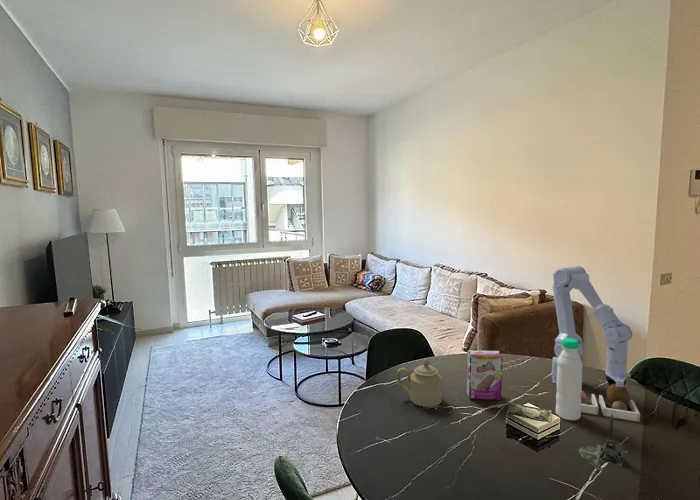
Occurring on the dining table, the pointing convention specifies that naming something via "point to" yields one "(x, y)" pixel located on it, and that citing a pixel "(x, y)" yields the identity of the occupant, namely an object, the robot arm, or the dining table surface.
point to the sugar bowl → (423, 385)
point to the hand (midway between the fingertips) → (614, 398)
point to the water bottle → (569, 381)
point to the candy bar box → (484, 375)
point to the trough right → (620, 411)
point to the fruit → (617, 394)
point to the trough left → (590, 407)
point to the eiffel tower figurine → (604, 452)
